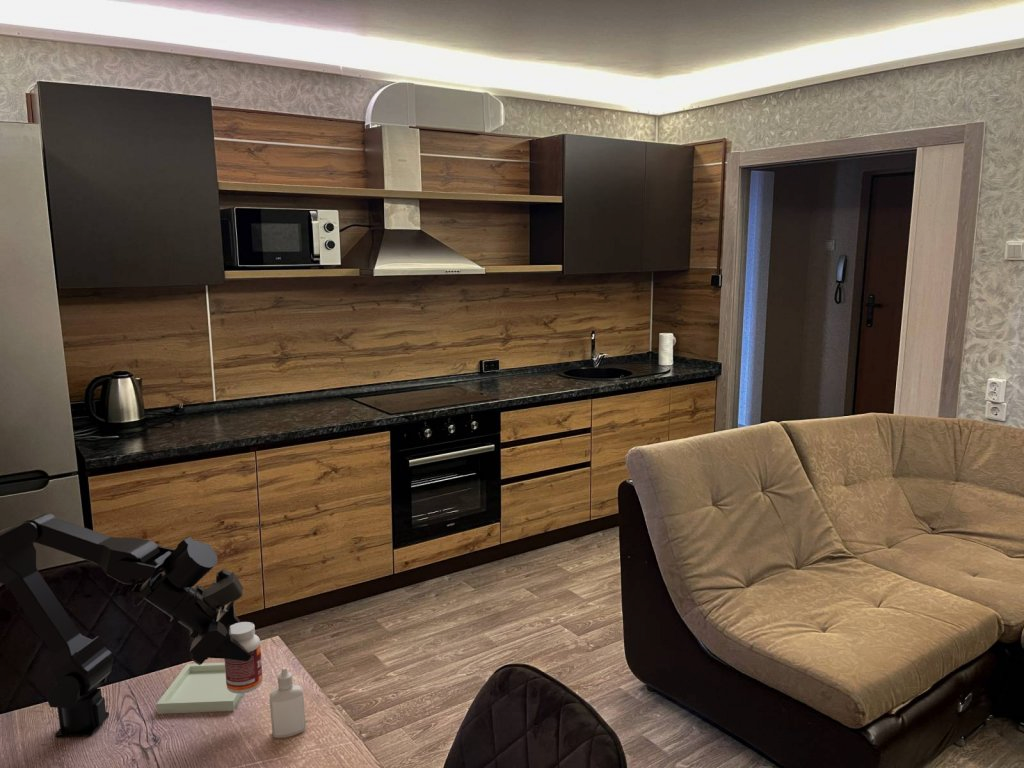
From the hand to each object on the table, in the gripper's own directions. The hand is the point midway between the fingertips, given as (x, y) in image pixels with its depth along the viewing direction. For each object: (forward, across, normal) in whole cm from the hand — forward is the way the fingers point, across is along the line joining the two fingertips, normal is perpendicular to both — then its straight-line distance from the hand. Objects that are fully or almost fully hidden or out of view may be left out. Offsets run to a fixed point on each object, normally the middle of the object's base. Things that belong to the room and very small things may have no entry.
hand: (250, 649), depth 133 cm
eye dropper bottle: (+14, -6, +5) cm, 16 cm away
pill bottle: (+4, 0, +6) cm, 7 cm away
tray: (+3, +12, +16) cm, 20 cm away
